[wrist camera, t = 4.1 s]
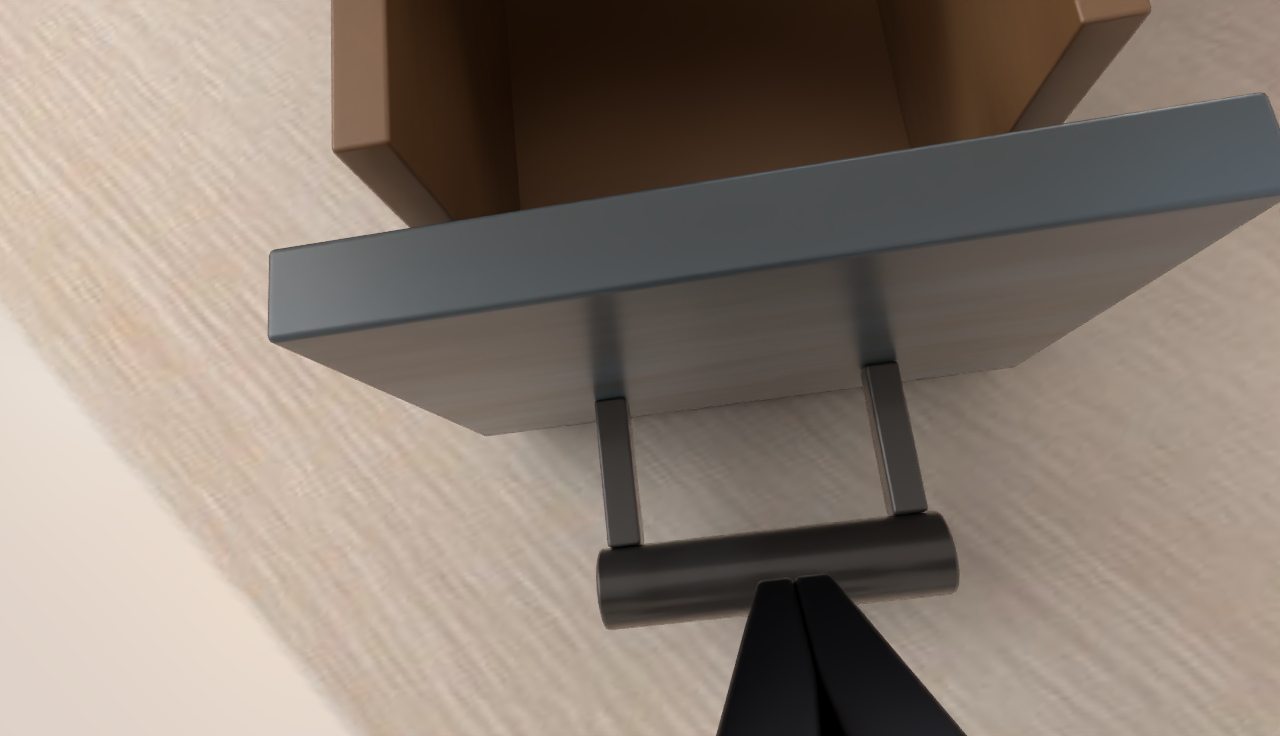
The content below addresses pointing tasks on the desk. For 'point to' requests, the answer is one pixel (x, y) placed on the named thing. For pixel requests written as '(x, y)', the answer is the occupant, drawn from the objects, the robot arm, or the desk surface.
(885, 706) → the robot arm
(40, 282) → the desk surface
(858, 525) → the drawer
